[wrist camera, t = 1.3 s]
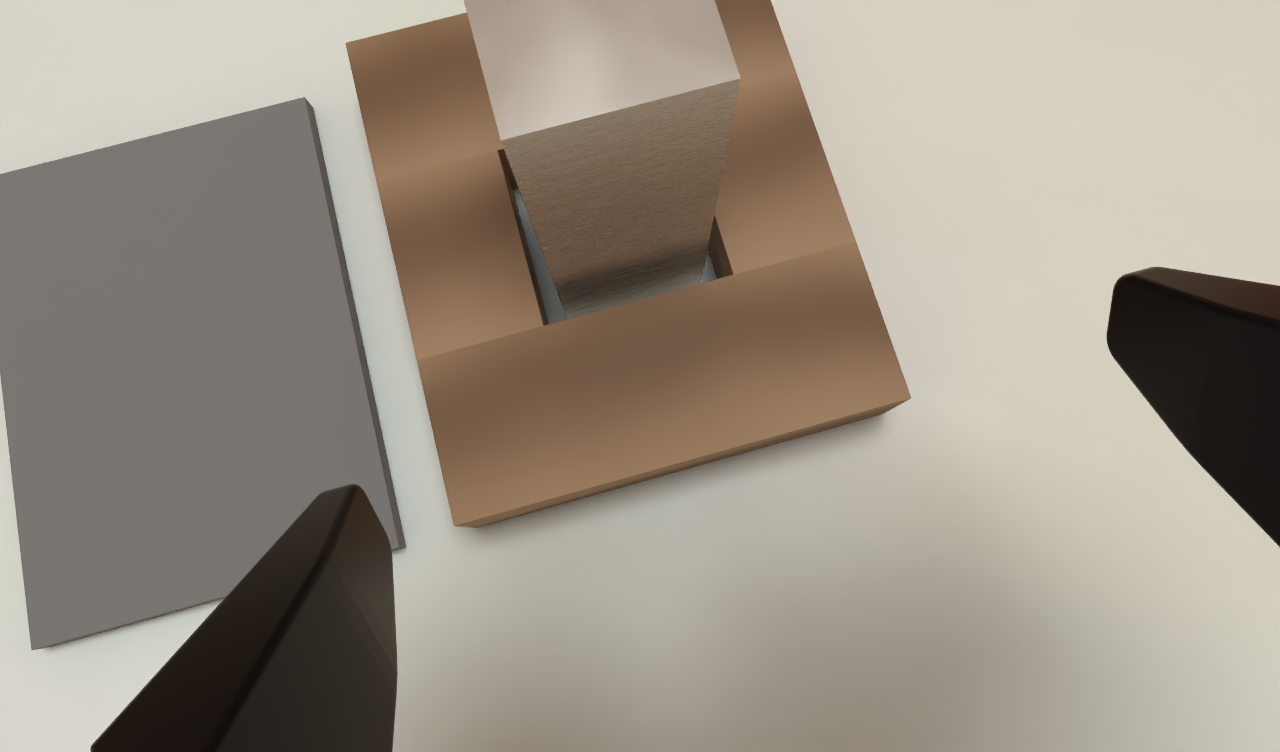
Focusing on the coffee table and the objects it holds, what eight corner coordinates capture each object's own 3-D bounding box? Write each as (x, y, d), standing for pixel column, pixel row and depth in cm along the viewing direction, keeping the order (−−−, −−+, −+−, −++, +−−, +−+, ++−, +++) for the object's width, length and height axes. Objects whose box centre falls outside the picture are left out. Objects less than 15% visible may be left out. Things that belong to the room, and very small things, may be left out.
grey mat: (405, 547, 22) (398, 547, 22) (48, 647, 22) (31, 650, 21) (312, 107, 25) (304, 97, 24) (-6, 188, 25) (-22, 179, 24)
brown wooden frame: (883, 413, 23) (911, 398, 20) (475, 527, 22) (454, 525, 20) (740, -1, 26) (749, -59, 23) (375, 91, 25) (345, 43, 23)
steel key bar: (699, 289, 24) (740, 77, 13) (569, 324, 23) (500, 140, 13) (662, 169, 24) (672, -125, 14) (536, 202, 24) (446, -68, 14)
